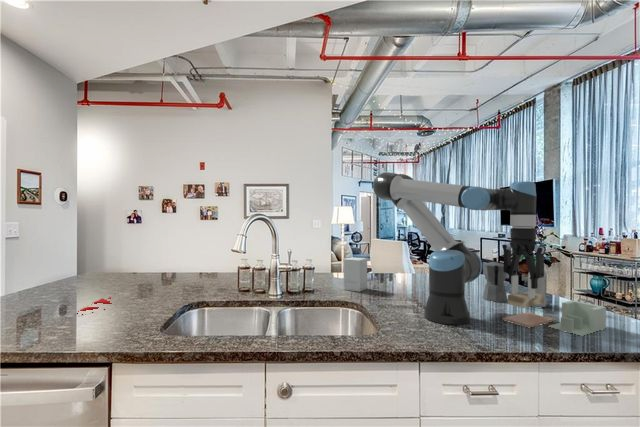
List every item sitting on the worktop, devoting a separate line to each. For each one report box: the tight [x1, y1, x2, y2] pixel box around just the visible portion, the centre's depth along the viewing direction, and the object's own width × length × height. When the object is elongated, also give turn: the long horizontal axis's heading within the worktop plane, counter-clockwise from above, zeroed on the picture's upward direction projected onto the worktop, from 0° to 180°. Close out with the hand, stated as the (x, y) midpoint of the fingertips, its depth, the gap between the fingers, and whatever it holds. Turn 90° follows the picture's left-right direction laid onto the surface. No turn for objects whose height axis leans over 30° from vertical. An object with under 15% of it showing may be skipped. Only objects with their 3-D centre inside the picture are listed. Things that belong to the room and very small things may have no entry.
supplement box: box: [343, 256, 368, 293], centre depth 166 cm, size 9×9×15 cm
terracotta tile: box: [502, 311, 555, 328], centre depth 117 cm, size 14×9×1 cm, turn 118°
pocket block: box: [548, 300, 607, 337], centre depth 110 cm, size 15×9×7 cm, turn 118°
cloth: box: [79, 296, 112, 311], centre depth 134 cm, size 26×14×2 cm, turn 176°
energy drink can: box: [528, 268, 547, 308], centre depth 136 cm, size 6×6×15 cm
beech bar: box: [507, 291, 544, 308], centre depth 116 cm, size 12×5×3 cm, turn 118°
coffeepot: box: [482, 257, 508, 303], centre depth 145 cm, size 15×9×18 cm, turn 156°
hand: (522, 296), depth 115 cm, fingers closed on beech bar, 5 cm apart
